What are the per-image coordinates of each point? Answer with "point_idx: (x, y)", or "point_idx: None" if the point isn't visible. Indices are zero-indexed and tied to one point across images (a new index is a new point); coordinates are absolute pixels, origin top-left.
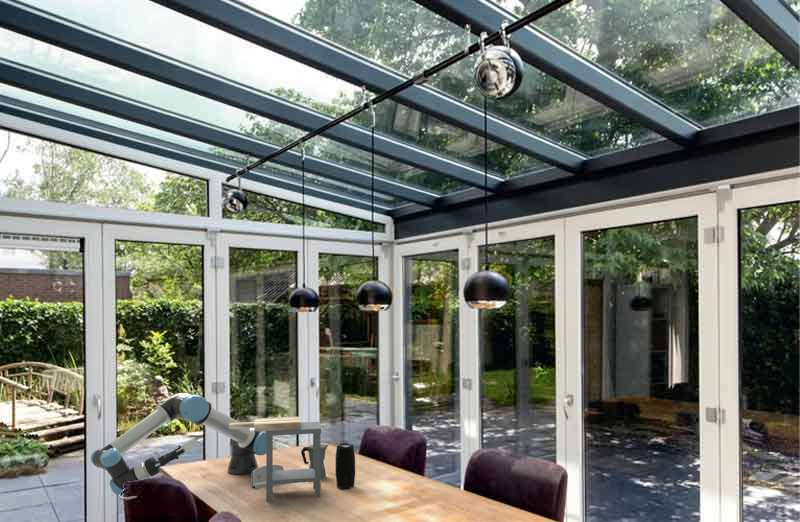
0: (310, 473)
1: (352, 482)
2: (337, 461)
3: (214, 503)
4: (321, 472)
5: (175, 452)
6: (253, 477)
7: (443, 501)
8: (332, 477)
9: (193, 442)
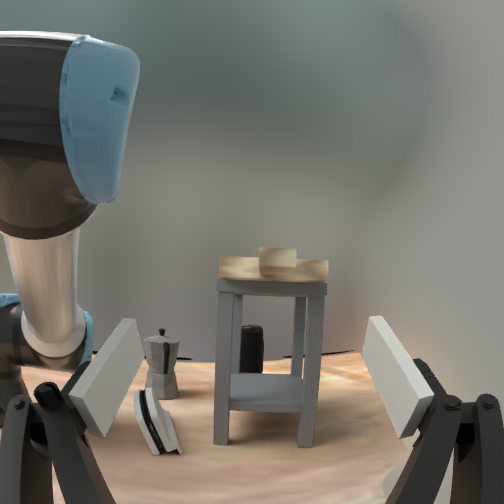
0: (267, 377)
1: None
2: (254, 352)
3: None
4: (176, 383)
5: (448, 399)
6: (161, 431)
7: (325, 364)
8: None
9: (134, 347)
